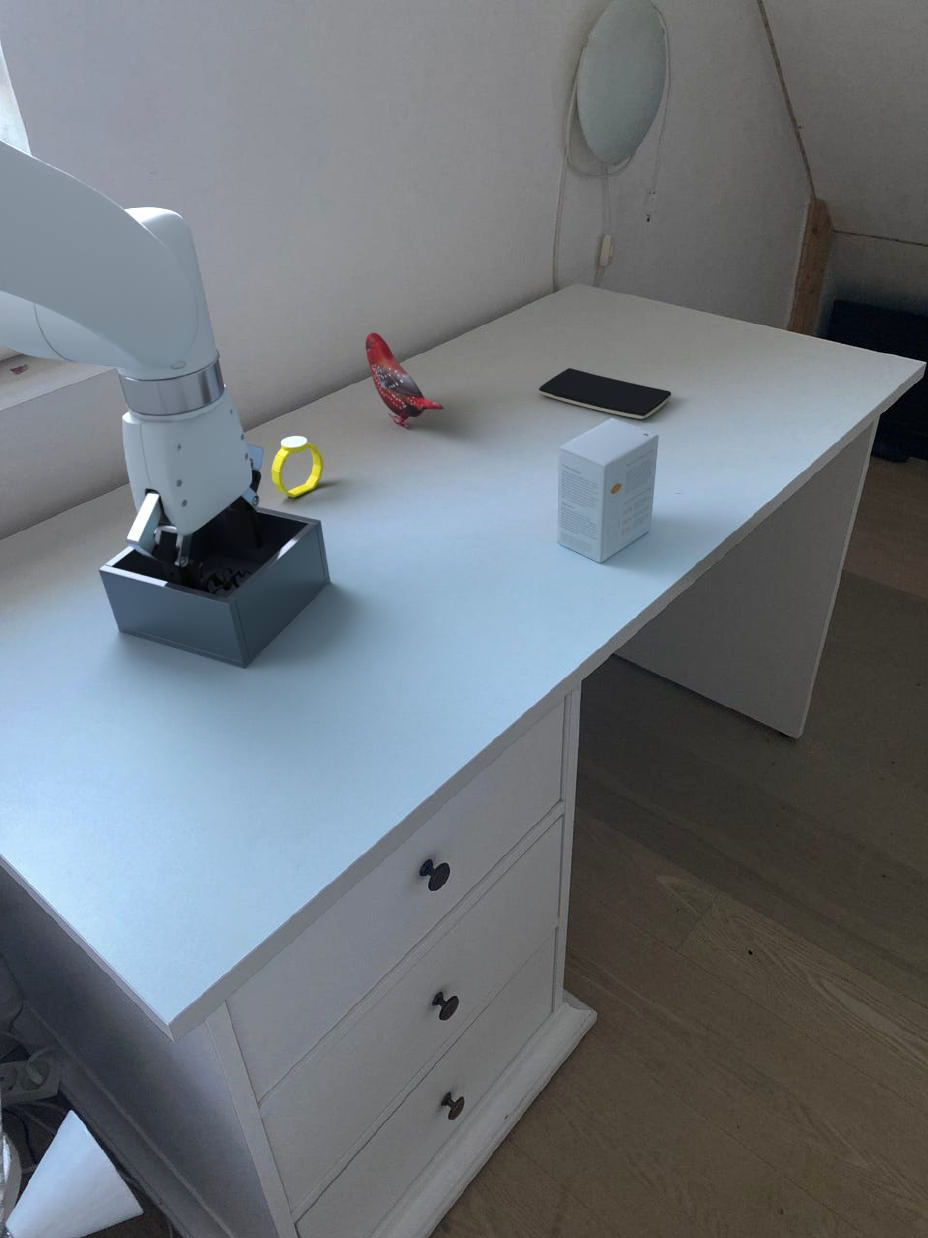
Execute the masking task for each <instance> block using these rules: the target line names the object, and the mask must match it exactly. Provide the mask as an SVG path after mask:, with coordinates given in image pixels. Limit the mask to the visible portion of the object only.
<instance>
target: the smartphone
mask: <svg viewBox="0 0 928 1238" xmlns="http://www.w3.org/2000/svg"><path fill="white" fill-rule="evenodd" d="M538 394H540V395H543V396H545V397H549V398H552V399H555V400H558V401H562V402H566V403H569V404H573V405H577V406H580V407H584V408H588V409H591V410H597V411H600V412H605V413H609V414H614V415H618V416H622V417H628V418H634V419H638V420H639V419H640V420H642V419H647V418H648V417H650V416H652V415H653V414H654V413H656V412H657V411H658V410H659V409H661V408H662V407H663V406H664V405H665V404H666V403H668V401H669V400H670V399H671V397H672V392H671V391H670V390H666V389H662V388H656V387H652V386H648V385H647V386H646V385H642V384H637V383H633V382H629V381H624V380H619V379H616V378H611V377H607V376H602V375H599V374H594V373H590V372H586V371H583V370H579V369H575V368H572V367H568V368H566V369H565V370H563V371H561V372H559V373H558V374H557V375H555V376H553V377H552V378H550V379H549V380H548V381H546V382H545V383H543V384H542V385H540V386H539V387H538Z"/></svg>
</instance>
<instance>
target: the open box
mask: <svg viewBox="0 0 928 1238" xmlns="http://www.w3.org/2000/svg"><path fill="white" fill-rule="evenodd" d="M254 509H255V510H257V515H258V520H259V525H260V530H261V535H262V540H263V547H261V548H260V549H259V550H256V549H252V548H247V547H243V546H239V545H235V544H233V543H232V542H231V538H230V534H229V529H228V525H227V520H226V516H225V512H224V510H223V511H221V512H220V513H219V514H217V515H216V516H215V517H214V518H212V519H211V520H210V521H209V522H207V523H206V524H205V525H203V526H202V527H201V528H199V529H198V530H197V531H195V532H193V536H192V542H191V548H190V554H189V560H193V561H195V563H196V566H197V570H198V573H199V569H198V568H199V566H200V564H201V563H203V569H202V574H203V577H204V576H205V575H206V574H208V573H211V572H215V571H217V570H218V568H219V564H220V568H219V571H218V572H217V573H216V575H217V576H218V577H219V578H221V575H222V573H223V571H224V569H225V568H226V567H229V568H231V569H232V571H233V569H237V568H239V569H240V570H242V571H244V570H248V571H249V572H250V573H251V574H252V575H250V574H249V573H248V572H247V571H246V574H245V576H244V577H243V578H240V577H239V575H237V576H236V581H237V584H238V585H240V587H239V588H236V587H235V586H234V585H233V583H232V588H231V589H230V590H229V591H225V590H224V589H223V588H222V589H219V590H218V591H217V592H216V593H217V594H218V595H215V594H211V593H208V592H204V591H200V590H196V589H193V588H189V587H185V586H181V585H178V584H174V583H170V582H167V579H166V576H165V575H163V574H164V573H165V572H164V569H163V565H162V562H159V561H155V560H153V559H150V558H147V557H144V556H143V555H142V554H141V553H139V552H138V551H136V550H135V549H134V548H132V547H131V546H129V545H128V546H127V547H125V548H124V549H123V550H122V551H120V552H119V553H118V554H117V555H115V556H114V557H112V558H111V559H110V560H109V561H107V562H106V563H105V564H104V565H102V566H101V567H100V568H98V572H99V575H100V578H101V582H102V584H103V587H104V590H105V593H106V597H107V599H108V602H109V606H110V609H111V611H112V614H113V617H114V620H115V623H116V626H117V629H118V631H119V632H121V633H126V634H128V635H132V636H134V637H138V638H142V639H145V640H149V641H152V642H155V643H159V644H162V645H164V646H168V647H172V648H176V649H179V650H182V651H184V652H185V651H186V652H189V653H192V654H195V655H199V656H202V657H206V658H209V659H213V660H215V661H219V662H223V663H226V664H229V665H231V666H232V665H233V666H235V667H239V668H243V669H246V668H247V667H248V666H249V665H250V664H251V663H252V662H253V661H254V660H255V659H256V658H257V657H258V656H259V655H260V653H261V652H262V651H264V649H266V647H268V645H269V644H271V642H273V640H274V639H275V638H276V637H277V636H279V634H280V633H281V632H282V631H283V630H284V629H285V628H286V627H287V626H288V625H289V624H290V623H291V622H292V621H293V620H294V619H295V618H296V617H297V616H298V615H299V614H300V613H301V612H302V611H303V610H304V609H305V607H307V605H309V603H310V602H312V600H313V599H315V598H316V596H317V595H318V594H319V593H320V592H322V590H323V589H324V588H325V587H326V586H328V584H329V583H330V582H331V576H330V569H329V564H328V557H327V551H326V550H327V549H326V543H325V538H324V531H323V526H322V521H321V520H320V519H315V518H312V517H307V516H302V515H298V514H294V513H287V512H284V511H279V510H274V509H270V508H266V507H262V506H257V507H256V508H254ZM171 524H172V523H171ZM173 525H174V524H173ZM155 534H156V530H155V532H154V539H155ZM177 536H178V534H174V533H171V534H170V540H169V547H168V548H171V549H174V550H175V548H176V542H177ZM224 549H225V550H224ZM223 551H224V554H223ZM222 555H223V562H222V560H221V557H222ZM220 561H221V563H220ZM239 569H238V570H239ZM240 570H239V571H240ZM240 572H241V571H240ZM241 574H242V572H241ZM224 576H225V578H226V580H227V581H228V582H229V578H230V573H229V570H228V569H226V570H225V571H224ZM199 577H200V575H199ZM209 584H210V585H209ZM209 584H208V587H209V590H210V592H212V591H213V590H214V589H215V588H216V587H215V586H214V584H213V581H212V580H210V581H209ZM211 585H212V587H213V590H212V589H211Z"/></svg>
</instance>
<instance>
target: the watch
mask: <svg viewBox="0 0 928 1238" xmlns="http://www.w3.org/2000/svg"><path fill="white" fill-rule="evenodd" d="M280 447H281V448H280V449H279V450H278V452H277V453H276V455H275V456H274V459H273V462H272V465H271V480H272V483H273V485H274V487H275V489H276V490H277V492H279V493H282V494H284V495H286V496H288V497H290V498H291V499H295V498H296V497H299V496H301V495H304V494H305V493H308V492H310V491H313V490H315V488H316V487H317V485H318V484H319V482H320V480H321V478H322V475H323V472H324V471H323V470H324V461H323V460H324V459H323V454H322V452H321V451H320V450H319V448H318V446H316V445H314V444H312V443H310V442H309V441H308V439H307V438H306V437H305V436H301V435H292V436H287V437H285V438H283V439H282V440H281V441H280ZM307 449H308V450H309V452H310V453H311V458H312V468H311V469H312V470H311V473H310V475H309V477H308V478H307V480H306V481H305V483H304V484H300V485H299V486H297V487H294V488H292V489H289V490H287V489H286V486H285V485H284V483H283V469H284V466H285V462H286V460H287V459H288V458H289V456H290V455H291V454H297V453H302V452H304V451H306V450H307Z"/></svg>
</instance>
